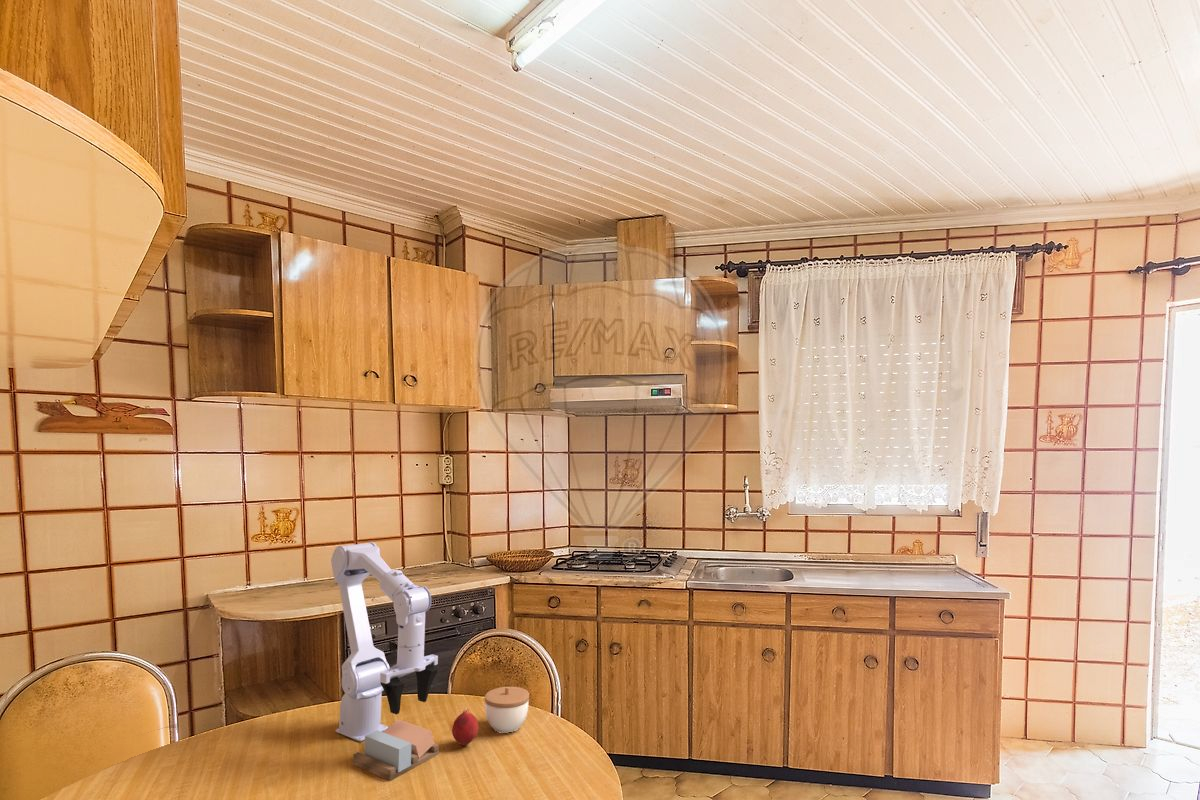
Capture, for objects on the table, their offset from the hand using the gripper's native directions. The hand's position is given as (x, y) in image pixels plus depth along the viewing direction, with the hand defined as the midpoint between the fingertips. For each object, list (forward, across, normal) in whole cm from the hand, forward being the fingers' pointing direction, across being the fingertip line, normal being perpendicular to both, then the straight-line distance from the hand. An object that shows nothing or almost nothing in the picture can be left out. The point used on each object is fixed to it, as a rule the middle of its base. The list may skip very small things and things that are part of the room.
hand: (408, 706), depth 133 cm
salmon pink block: (+8, -2, 0) cm, 8 cm away
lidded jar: (+10, +22, -10) cm, 26 cm away
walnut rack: (+10, -3, 0) cm, 10 cm away
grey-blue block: (+9, -6, 0) cm, 11 cm away
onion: (+10, +10, -8) cm, 16 cm away
